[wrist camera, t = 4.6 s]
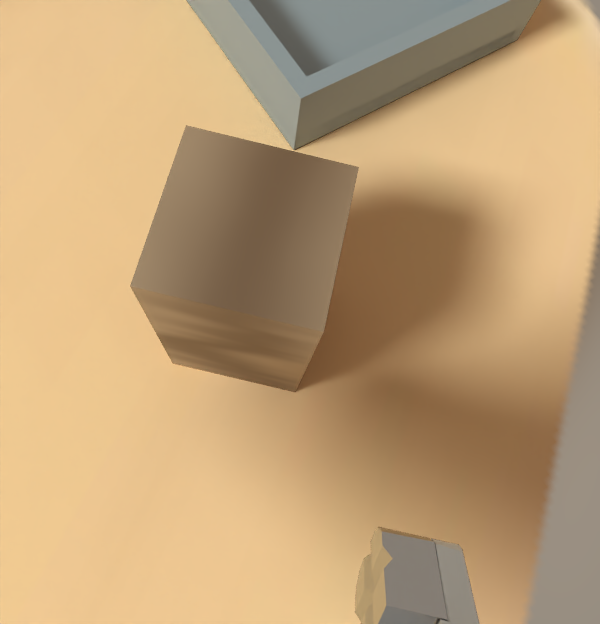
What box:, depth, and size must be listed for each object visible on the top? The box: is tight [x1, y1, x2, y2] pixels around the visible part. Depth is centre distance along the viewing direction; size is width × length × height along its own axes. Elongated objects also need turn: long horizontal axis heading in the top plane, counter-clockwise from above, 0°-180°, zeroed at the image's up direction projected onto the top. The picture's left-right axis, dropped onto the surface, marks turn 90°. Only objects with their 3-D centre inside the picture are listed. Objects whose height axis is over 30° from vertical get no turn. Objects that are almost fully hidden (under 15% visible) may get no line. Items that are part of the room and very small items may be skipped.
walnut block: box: [130, 125, 359, 392], centre depth 19 cm, size 5×5×8 cm
